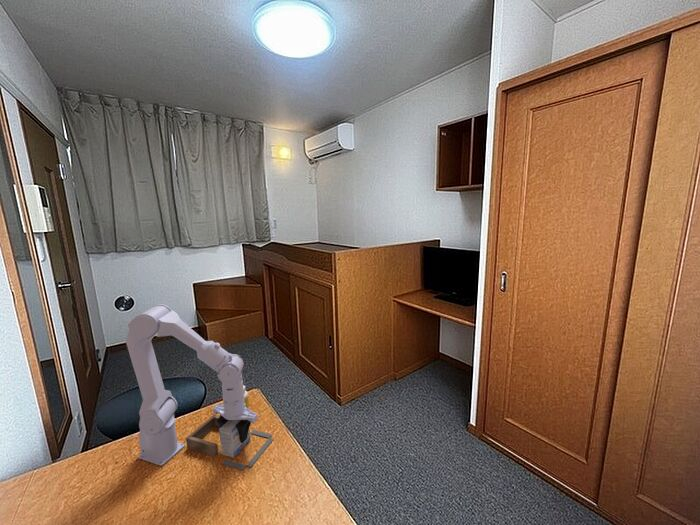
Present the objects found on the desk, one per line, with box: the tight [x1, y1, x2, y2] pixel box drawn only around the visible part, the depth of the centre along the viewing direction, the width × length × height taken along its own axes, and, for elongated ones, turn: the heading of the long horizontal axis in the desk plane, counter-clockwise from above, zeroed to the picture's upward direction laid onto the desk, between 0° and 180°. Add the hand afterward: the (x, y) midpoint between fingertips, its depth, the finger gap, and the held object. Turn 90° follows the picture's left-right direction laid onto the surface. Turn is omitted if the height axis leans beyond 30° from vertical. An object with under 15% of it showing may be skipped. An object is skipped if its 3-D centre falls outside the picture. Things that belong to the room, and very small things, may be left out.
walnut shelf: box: [185, 414, 221, 458], centre depth 93 cm, size 11×11×4 cm
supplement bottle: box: [243, 384, 250, 410], centre depth 105 cm, size 5×5×10 cm
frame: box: [221, 429, 274, 471], centre depth 89 cm, size 8×14×1 cm, turn 161°
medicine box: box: [218, 420, 251, 458], centre depth 90 cm, size 8×4×9 cm, turn 161°
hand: (237, 438), depth 91 cm, fingers closed on medicine box, 4 cm apart
